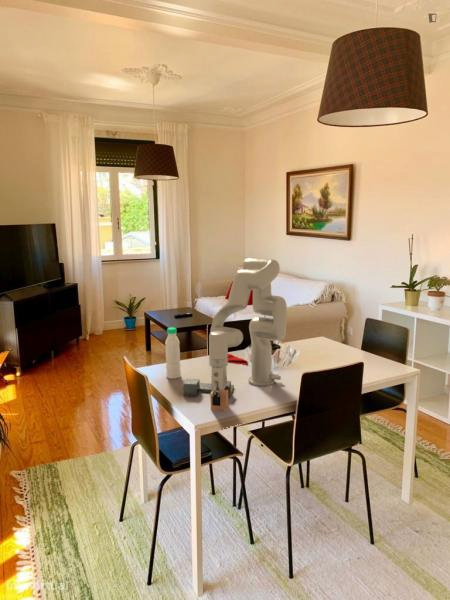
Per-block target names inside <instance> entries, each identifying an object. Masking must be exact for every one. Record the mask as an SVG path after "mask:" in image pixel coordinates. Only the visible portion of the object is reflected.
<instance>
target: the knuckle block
mask: <svg viewBox="0 0 450 600" xmlns="http://www.w3.org/2000/svg"><path fill="white" fill-rule="evenodd" d="M217 392H218V391H217ZM212 394H213V390H212V392H211V393H210V395H209V396H210V410H213V411H227V410H228V407H229V399H228V390H223V391H222V390H220V406H213V405H212Z"/></svg>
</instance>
